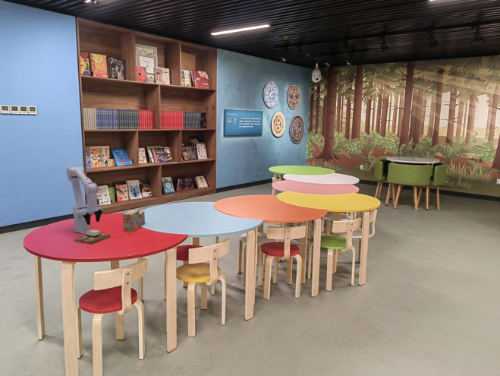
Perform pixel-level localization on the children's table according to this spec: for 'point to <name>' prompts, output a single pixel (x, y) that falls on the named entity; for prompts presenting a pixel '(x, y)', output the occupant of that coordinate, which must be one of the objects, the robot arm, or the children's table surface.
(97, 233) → the beige box with tabs
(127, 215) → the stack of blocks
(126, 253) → the children's table surface
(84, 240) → the dock
